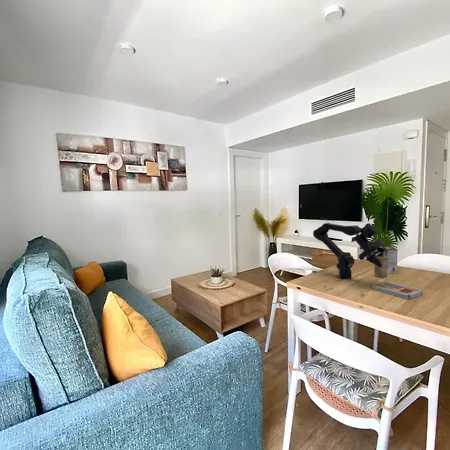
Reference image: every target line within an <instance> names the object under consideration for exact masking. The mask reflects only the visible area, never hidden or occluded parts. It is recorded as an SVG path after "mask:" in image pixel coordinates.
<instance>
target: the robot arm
mask: <svg viewBox="0 0 450 450" xmlns="http://www.w3.org/2000/svg"><path fill="white" fill-rule="evenodd" d="M330 231H335V232H341V233H343V234H344V235H347V236H349V237H350V236H352V237H351V241H350V242H351V243H353V242H355V243H357V245H359V249H360V250H362V252H361V253H360V254H358V259H359V260H360V261H364V260H365V261H367V262H369V263H371V264H373V265H374V266H375V265H377V266H379V267H382V265H381V264H380V262H379V261H378V259H377V258H376V257H378V256H381V257H384V256H383V254H384V252H385V251H386V250H387V249H386V248H385V247H386V246H385V243H386V241H385V240H384V239H382V238H379V239H377V240H376V241H372V240H371V241H370V240H369V239H371V238H372V237H373V236H375V234H377V233H378V232H379V229H378V228H377V226H374V225H373V224H372V223H371V224H370V223H366V224H365V225H364V226H363V227H360V226H359V225H355V224H354V225H343V224H337V223H336V224H335V223H330V222H325V223H323V224H322V225H321V226H319V227H317V228H316V229H314V230H313V232H312V235H313V236H312V237H314V238H315V239H316V240H318V241H320V242H322V243H323V244H324V245H325V246H326V247H327V248H328V249H329V250H330V251H331V253H333V254H334V255H335V256H336V257H337V261H338V263H337V264H336V265H335V267H336V268H337V269H338V275H337V277H338V278H339V279H340V280H352V279H353V278H352V270H351V268H353V266H354V265H355V262H356V260H355V258H354V256H353V255H352V254H351V253H350V252H344V251H343V250H342V249H341V248H340V247H339V246H338V245H337V244H336V243H335V242H334V240H332V239H331V238H330V237H329V234H328V232H330ZM365 258H366V259H365Z"/></svg>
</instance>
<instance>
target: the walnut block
mask: <svg viewBox="0 0 450 450" xmlns="http://www.w3.org/2000/svg"><path fill="white" fill-rule="evenodd" d="M376 258H377V259H378V261H379V262H380V264H381V265H382V267H379V266H377V265H375V264H374V273H373V274H374V275H373V276H374V278H376V279H377V278H378V279H382V280H384V279H387V278H388V275H389V273H388V258H387V257H381V256H378V257H376Z"/></svg>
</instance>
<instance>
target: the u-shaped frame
mask: <svg viewBox="0 0 450 450" xmlns="http://www.w3.org/2000/svg"><path fill="white" fill-rule="evenodd" d="M383 285H384V286H387V287H390V288H393V289H397V290H399V289H401V288H404V287H405V288H409V289H412V290H416V292H414V293H412V294H409V295H408V294H404V293H400V292H397V291H396V290H392V289H389V288H385V287H381V286H378V285H374V284H373V285H372V290H373V291H378V292H381V293H384V294H388V295H391V296H395V297H398V298H402V299H406V300H409V301H411V300H413V299H416V298H417V297H419V296H423V290H421V289H417V288H414V287H411V286H410V287H409V286H406V285H401V284H397V283H392V282H389V281H383Z"/></svg>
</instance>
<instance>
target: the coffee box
mask: <svg viewBox="0 0 450 450" xmlns="http://www.w3.org/2000/svg"><path fill="white" fill-rule="evenodd" d="M384 247H385V248H386V249H387V250H386V251H385V252H384V254H383V256H384V257H387V258H388V274H395V275H396V274H398V249H397V248H396V247H394V246H384Z"/></svg>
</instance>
